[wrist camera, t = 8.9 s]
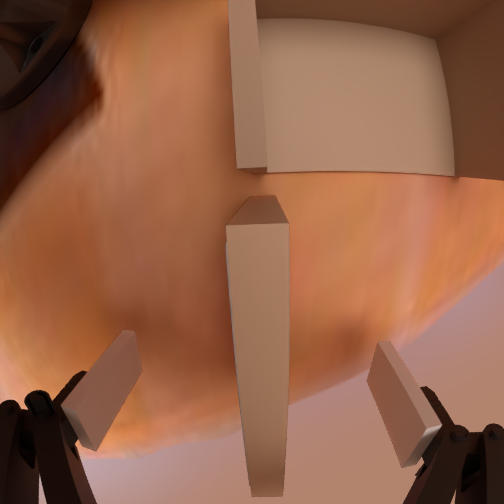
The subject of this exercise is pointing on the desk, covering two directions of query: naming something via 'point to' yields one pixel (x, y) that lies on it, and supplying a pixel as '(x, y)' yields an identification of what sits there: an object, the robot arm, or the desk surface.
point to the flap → (261, 335)
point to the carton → (369, 86)
